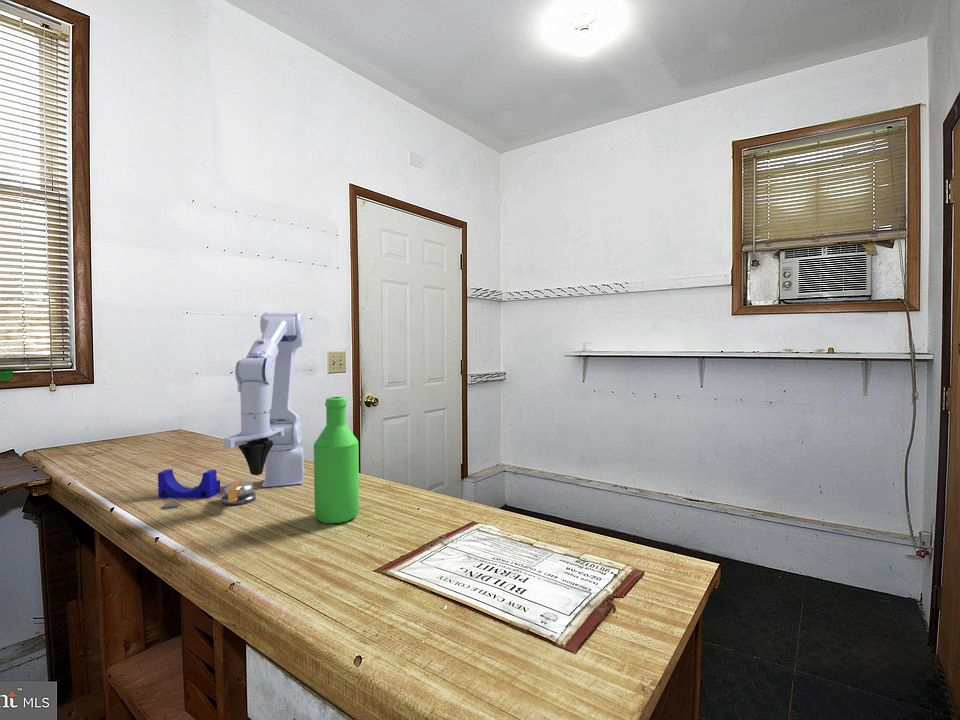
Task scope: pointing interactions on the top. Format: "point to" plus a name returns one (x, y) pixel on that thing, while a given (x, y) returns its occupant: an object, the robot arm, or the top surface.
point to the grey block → (170, 505)
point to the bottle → (336, 467)
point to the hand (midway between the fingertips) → (256, 474)
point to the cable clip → (175, 490)
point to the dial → (238, 490)
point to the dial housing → (239, 500)
